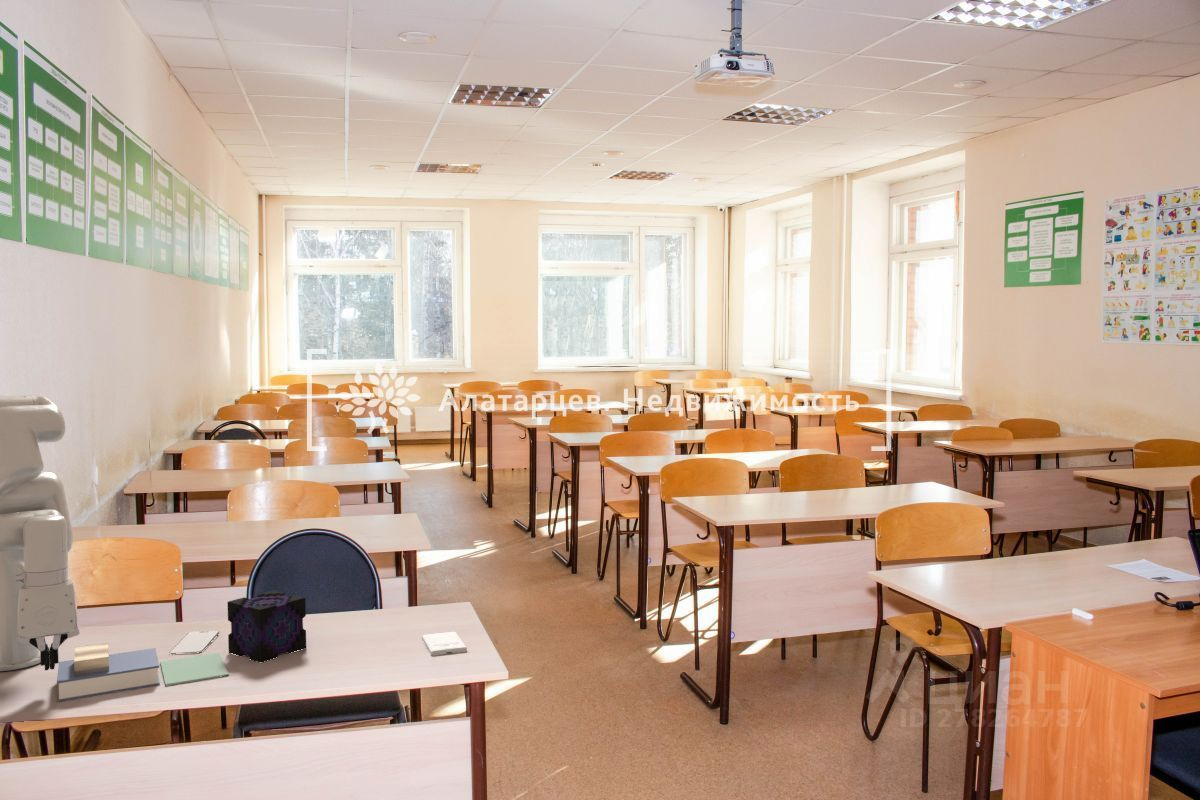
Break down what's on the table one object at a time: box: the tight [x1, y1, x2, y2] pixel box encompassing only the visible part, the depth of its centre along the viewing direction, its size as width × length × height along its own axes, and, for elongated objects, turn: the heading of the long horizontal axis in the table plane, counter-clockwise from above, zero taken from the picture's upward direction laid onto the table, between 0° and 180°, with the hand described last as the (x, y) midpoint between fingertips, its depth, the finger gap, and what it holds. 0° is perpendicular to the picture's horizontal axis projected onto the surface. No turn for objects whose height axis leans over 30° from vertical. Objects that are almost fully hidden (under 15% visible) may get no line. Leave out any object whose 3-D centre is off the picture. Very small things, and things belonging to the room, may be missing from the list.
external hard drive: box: [421, 631, 468, 657], centre depth 209 cm, size 2×8×12 cm
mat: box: [160, 652, 229, 687], centre depth 193 cm, size 16×12×1 cm
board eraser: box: [73, 642, 110, 676], centre depth 184 cm, size 10×6×3 cm, turn 30°
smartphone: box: [169, 630, 220, 654], centre depth 211 cm, size 7×1×15 cm
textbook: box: [56, 647, 161, 702], centre depth 185 cm, size 13×18×4 cm
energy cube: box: [227, 589, 307, 663], centre depth 205 cm, size 12×12×12 cm
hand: (49, 667), depth 180 cm, fingers closed
